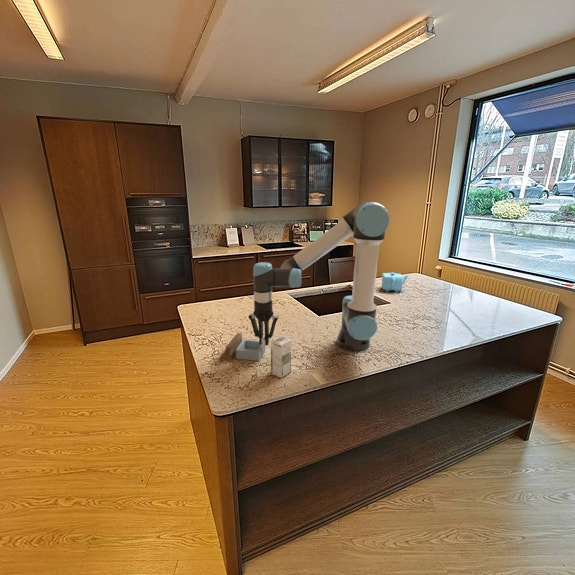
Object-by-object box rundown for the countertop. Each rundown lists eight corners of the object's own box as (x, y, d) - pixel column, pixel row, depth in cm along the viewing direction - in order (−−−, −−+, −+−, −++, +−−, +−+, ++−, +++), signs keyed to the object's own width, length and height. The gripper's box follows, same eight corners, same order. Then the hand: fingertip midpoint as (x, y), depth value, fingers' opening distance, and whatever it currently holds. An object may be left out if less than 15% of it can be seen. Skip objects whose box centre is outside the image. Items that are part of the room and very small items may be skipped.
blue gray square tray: (266, 349, 145) (266, 341, 144) (259, 360, 135) (259, 352, 134) (244, 347, 147) (244, 338, 146) (236, 358, 137) (235, 349, 136)
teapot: (383, 293, 223) (385, 275, 219) (381, 286, 238) (382, 269, 234) (410, 294, 220) (412, 276, 216) (406, 287, 235) (408, 270, 231)
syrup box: (280, 367, 130) (279, 335, 126) (291, 372, 127) (291, 339, 123) (270, 373, 126) (270, 340, 122) (282, 379, 123) (281, 344, 118)
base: (242, 345, 149) (241, 333, 147) (230, 360, 136) (230, 347, 134) (232, 344, 150) (231, 332, 148) (219, 358, 137) (219, 346, 135)
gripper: (280, 298, 134) (280, 348, 141) (251, 296, 137) (252, 345, 144) (276, 304, 127) (276, 357, 134) (245, 301, 130) (247, 353, 137)
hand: (264, 351), depth 139 cm, fingers closed
